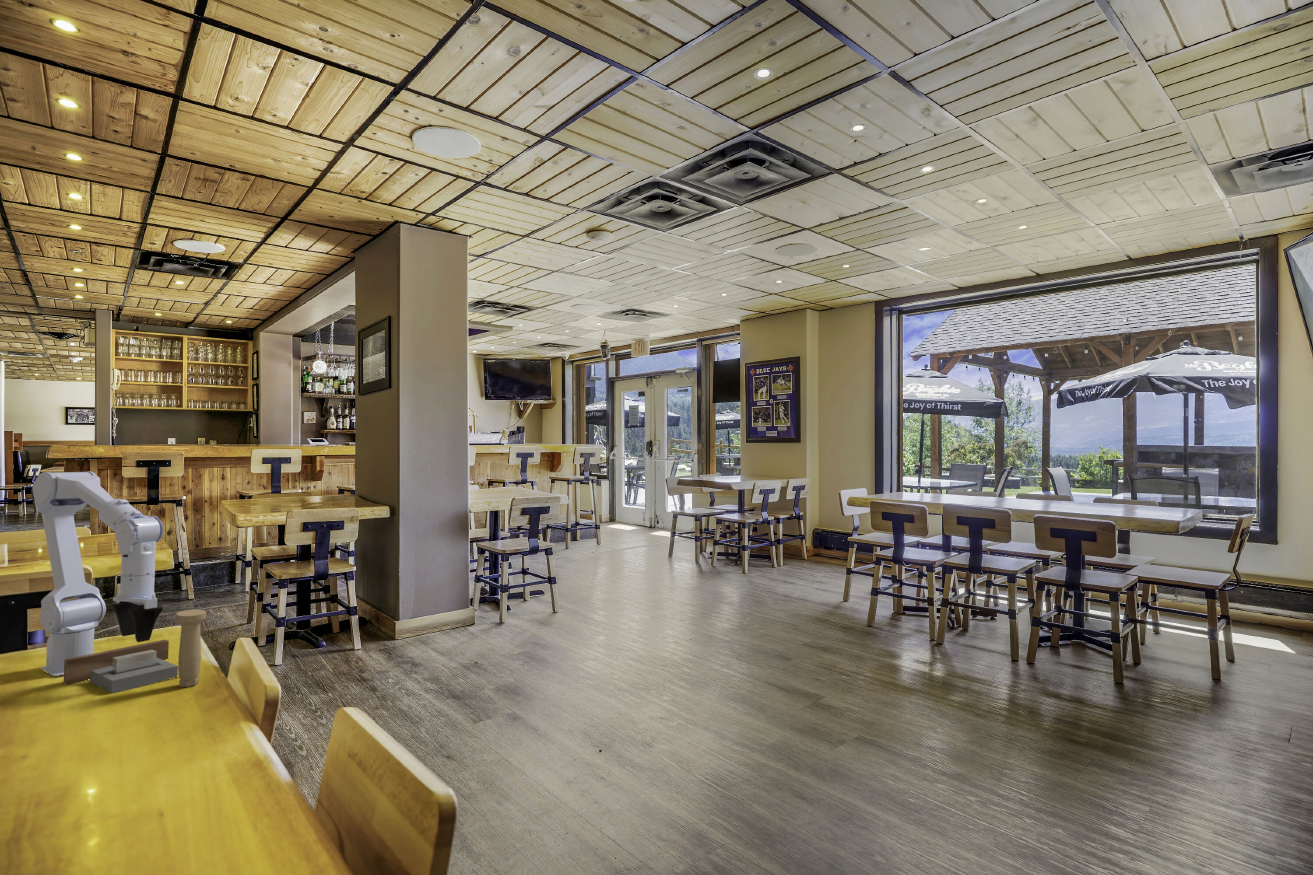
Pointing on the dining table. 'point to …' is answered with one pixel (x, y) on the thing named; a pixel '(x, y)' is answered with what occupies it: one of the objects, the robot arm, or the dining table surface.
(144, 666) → the white wooden block
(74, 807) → the dining table surface
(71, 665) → the brown long flat block
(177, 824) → the dining table surface
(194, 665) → the handle
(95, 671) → the slotted grey plate
